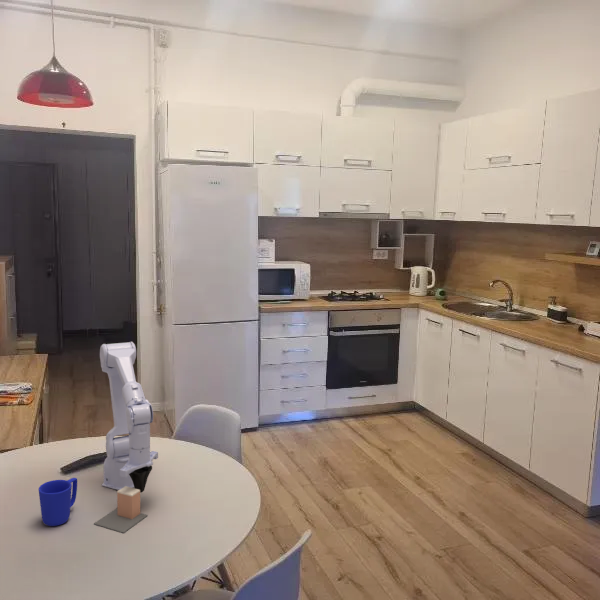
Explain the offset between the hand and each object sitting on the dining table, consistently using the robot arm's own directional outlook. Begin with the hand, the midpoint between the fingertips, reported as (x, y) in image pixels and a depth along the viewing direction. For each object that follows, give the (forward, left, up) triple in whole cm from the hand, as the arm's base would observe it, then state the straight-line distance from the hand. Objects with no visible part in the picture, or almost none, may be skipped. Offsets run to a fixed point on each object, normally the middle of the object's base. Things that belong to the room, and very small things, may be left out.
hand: (139, 491), depth 166 cm
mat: (0, -8, -5) cm, 9 cm away
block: (0, -5, -5) cm, 7 cm away
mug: (-15, -14, -5) cm, 21 cm away
